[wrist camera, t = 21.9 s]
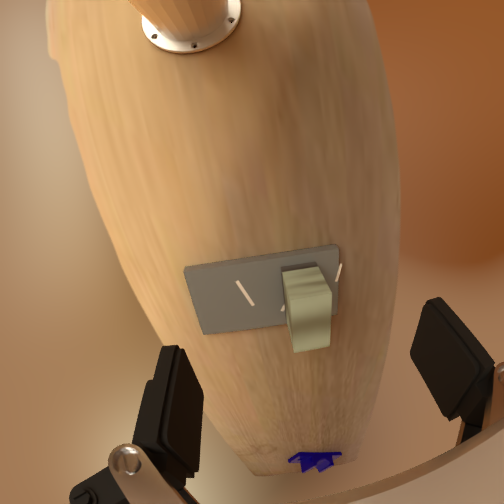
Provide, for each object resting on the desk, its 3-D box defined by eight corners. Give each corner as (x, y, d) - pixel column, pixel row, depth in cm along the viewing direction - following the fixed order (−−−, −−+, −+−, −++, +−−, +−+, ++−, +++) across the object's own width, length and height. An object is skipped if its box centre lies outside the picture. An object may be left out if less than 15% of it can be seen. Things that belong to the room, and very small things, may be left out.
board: (185, 266, 40) (183, 271, 38) (339, 243, 39) (342, 248, 38) (204, 328, 45) (203, 334, 44) (338, 308, 44) (340, 313, 43)
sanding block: (280, 266, 39) (290, 300, 31) (315, 261, 39) (331, 293, 31) (285, 316, 43) (293, 353, 35) (316, 311, 43) (329, 346, 35)
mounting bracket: (288, 458, 74) (290, 472, 69) (299, 451, 72) (301, 466, 66) (329, 458, 78) (332, 471, 73) (340, 451, 76) (344, 464, 70)
